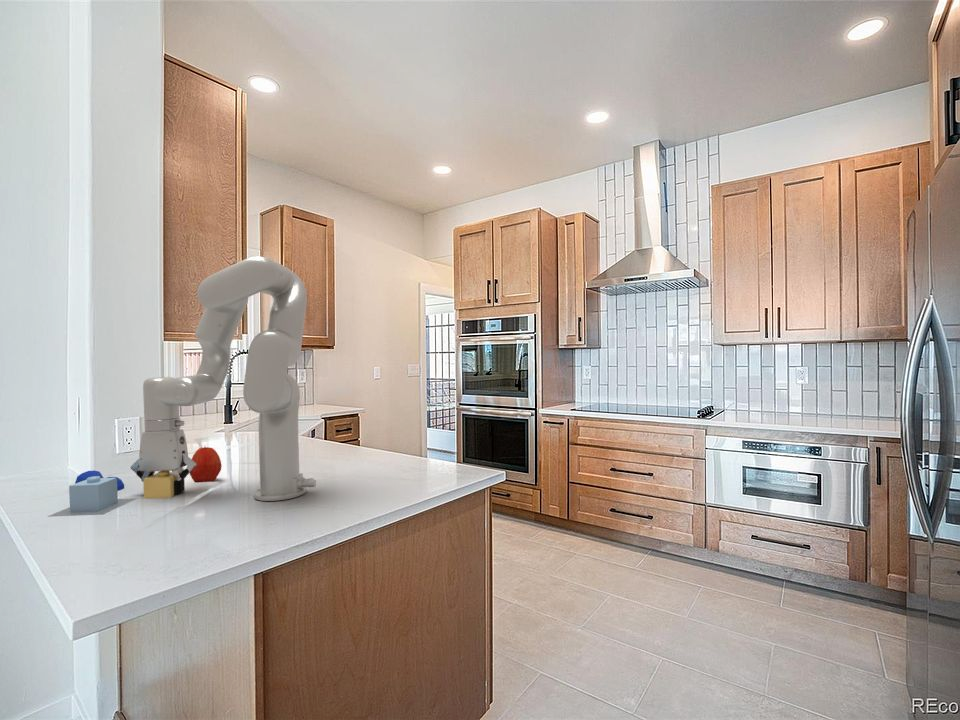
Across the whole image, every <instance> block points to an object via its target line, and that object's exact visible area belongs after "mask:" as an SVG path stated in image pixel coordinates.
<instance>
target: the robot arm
mask: <svg viewBox="0 0 960 720" xmlns="http://www.w3.org/2000/svg"><path fill="white" fill-rule="evenodd" d="M259 293H262V294H264V295H265V294H266V295H269V296H271V297H272V299H273V303H272V305H271V308H270V312H269V318H268V319H269V320H268V325H267V329H266V330H262V331H261V332H259V333H257V334H256V335H255V336H254V338H253V339H252V341H251V342H250V344H249V348H248V353H247V358H246V365H245V374H244V380H243V381H244V382H243V388H242V389H243V390H242V391H243V392H242V393H243V401H244V402H245V404H246V406H247V407H248V408H249V409H250V411H253V412H255V413H257V414H259V417H258V454H259V455H258V456H259V459H258V460H259V488H258V489H256V490H255V491H254V492H253V498H254V499H255V500H256V501H260V502H261V501H263V502H275V501H276V502H277V501H284V500H290V499H293V498H294V499H295V498H297V497H300V496H302V495H304V494H305V493H306V492H307V488H315V487H316V486H317V480H316V479H314V477H313V478H311V477H310V478H305V477H304V473H300V447H299V446H300V443H299V442H300V441H299V409H300V397H301V395H300V391H301V390H300V387H299V384H298V382H297V380H296V379H295V378H294V377H293V376H292V375H290V374H288V369H289V368H288V367H291V366H294V365H295V364H296V363H297V362H298V361H299V359H300V358H301V353H302V345H303V338H304V337H303V336H304V330H305V318H306V314H307V312H306V310H307V303H308V295H307V289H306V286H305V284H304V282H303V280H302V279H301V278H300V277H299V276H298V275H297V274H296V273H295V272H294V271H292V270H291V269H289V268H288V267H286V266H285V265H283V264H281V263H279V262H277V261H274V260H272V259H270V258H269V257H265V256H260V255H259V256H258V255H257V256H250V257H248V258H245V259H243V260H240V261H238V262H237V263H235V264H232V265H229V266H227V267H225V268H223V269H222V270H219V271H217V272H214V273H213V274H211V275H209V276H207V277H206V278H205V279H203V280H202V282H201V283H200V284H199V285H198V288H197V292H196V296H197V300H198V302H199V303H200V305H201V306H203V308H204V309H203V310H204V311H203V313H202V315H201V318H200V320H199V322H198V324H197V326H196V330H195V333H194V334H195V338H196V340H197V342H198V344H200V347H201V352H202V355H201V356H202V357H201V360H200V364H199V367H198V369H197V372H196V373H195V374H194V375H193V374H192V375H188V376H179V377H173V376H170V377H169V376H167V377H166V376H162V377H159V376H158V377H149V378H146V379H145V380H144V381H143V385H142V388H143V389H142V392H143V396H142V397H143V416H144V417H143V418H144V419H143V420H144V423H143V424H144V431H143V432H142V433H141V437H140V443H139V450H138V451H139V454H138V455H139V456H138V458H137V460H136V461H135V462H133V464H131V465H130V469H131V471H132V472H134V473H135V474H136V477H138V478H140V480H141V481H140V482H142V483H143V479H145V478H147V477H150V476H152V475H154V474H156V473H155V472H160V471H169V472H173V474H174V476H175V478H176V481H174V497H175V496H178V495H181V494H183V493H184V492H185V479H186V478H187V476H188V475H190V472H191V470H192V469H193V468H194V467H195V466H196V463H195V462H194V461H193V460H192V457H189V451H188V443H187V439H186V435H185V431H184V429H183V428H182V429H180V428H181V426H182V427H183V426H185V420H181V418H180V407H191V406H195V405H200V404H205V403H209V402H210V401H213V400H214V399H215V398H216V397H217V396H218V395H219V393H220V391H221V389H222V387H223V385H224V383H225V381H226V377H227V376H228V374H229V373H228V372H229V369H230V362H231V345H232V342H233V340H234V336H235V334H236V332H237V330H238V327H239V324H240V322H241V320H242V318H243V315H244V312H245V310H246V308H247V305H248V301H249V297H252V296H255V295H256V294H259ZM184 467H185V469H184Z"/></svg>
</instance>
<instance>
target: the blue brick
mask: <svg viewBox="0 0 960 720" xmlns="http://www.w3.org/2000/svg"><path fill="white" fill-rule="evenodd" d="M68 494H69V507H70V512H78V511H100V510H102V509H104V508H106V507H108V506H111V505H113V504H115V503H117V502H118V499H119V498H118V497H119V495H118V491H117V478H107V477H103V478H100V476H93V477H89V478H87V480H84V481H81V482H78V483H76V484H75V483H73V484H70V485H68Z"/></svg>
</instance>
